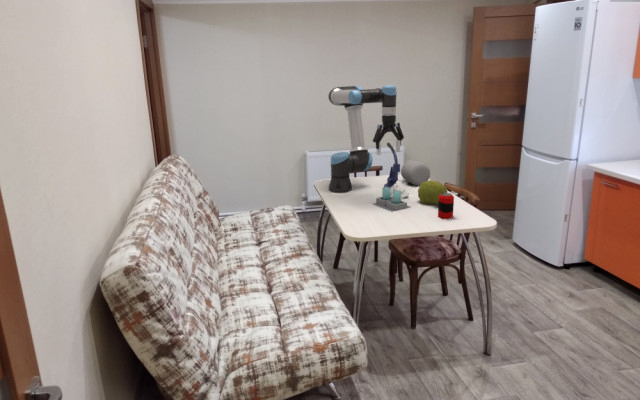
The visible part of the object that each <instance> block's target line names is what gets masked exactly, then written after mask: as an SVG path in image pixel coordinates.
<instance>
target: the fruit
mask: <svg viewBox="0 0 640 400" xmlns="http://www.w3.org/2000/svg"><path fill="white" fill-rule="evenodd" d="M441 193H448V188H447V187H446V186H445V185H444V184H443V183H442V182H441V181H436V180H432V179H429V180H428V181H426V182H423V183H422V184H421V185H420V186H418V188H417V197H418V199H419V200H420V201H421V203H422V204H426V205H434V206H438V202H439V196H440V194H441Z"/></svg>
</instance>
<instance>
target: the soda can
mask: <svg viewBox="0 0 640 400" xmlns="http://www.w3.org/2000/svg"><path fill="white" fill-rule="evenodd" d="M454 203H455V196H454V195H453V194H452V193H450V192H447V193H441V194H440V196H439V202H438V205H437V217H438V218H440V219H443V220H447V219H448V220H449V219H452V218H453V217H454V205H455V204H454Z"/></svg>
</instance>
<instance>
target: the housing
mask: <svg viewBox="0 0 640 400" xmlns="http://www.w3.org/2000/svg"><path fill="white" fill-rule="evenodd" d="M372 205H373V206H376V207H378V208H381V209H383V210H386V211H389V212H392V213H394V212H397V211H401V210H402V211H403V210H406V209H410V208H411V209H412V206H410V205H408V202H406V201H404V200H401V203H400V204H393V198H392V197H390V200H386V201H385V200H382V196H380V197H376V198H375V202H374V203H372Z"/></svg>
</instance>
